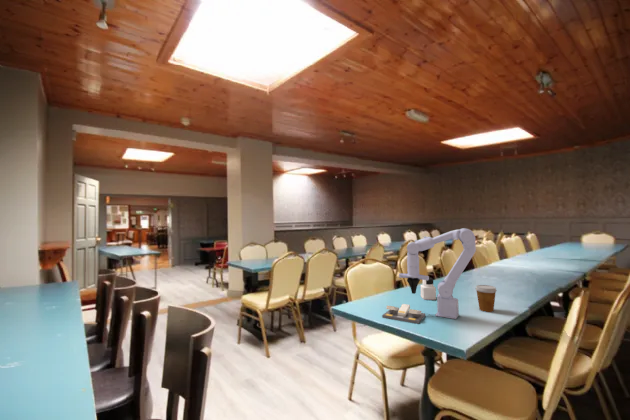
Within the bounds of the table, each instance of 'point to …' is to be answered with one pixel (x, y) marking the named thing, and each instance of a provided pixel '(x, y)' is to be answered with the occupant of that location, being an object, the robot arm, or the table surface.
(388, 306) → the rocker
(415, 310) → the block
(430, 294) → the medicine bottle
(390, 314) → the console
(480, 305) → the disposable coffee cup
